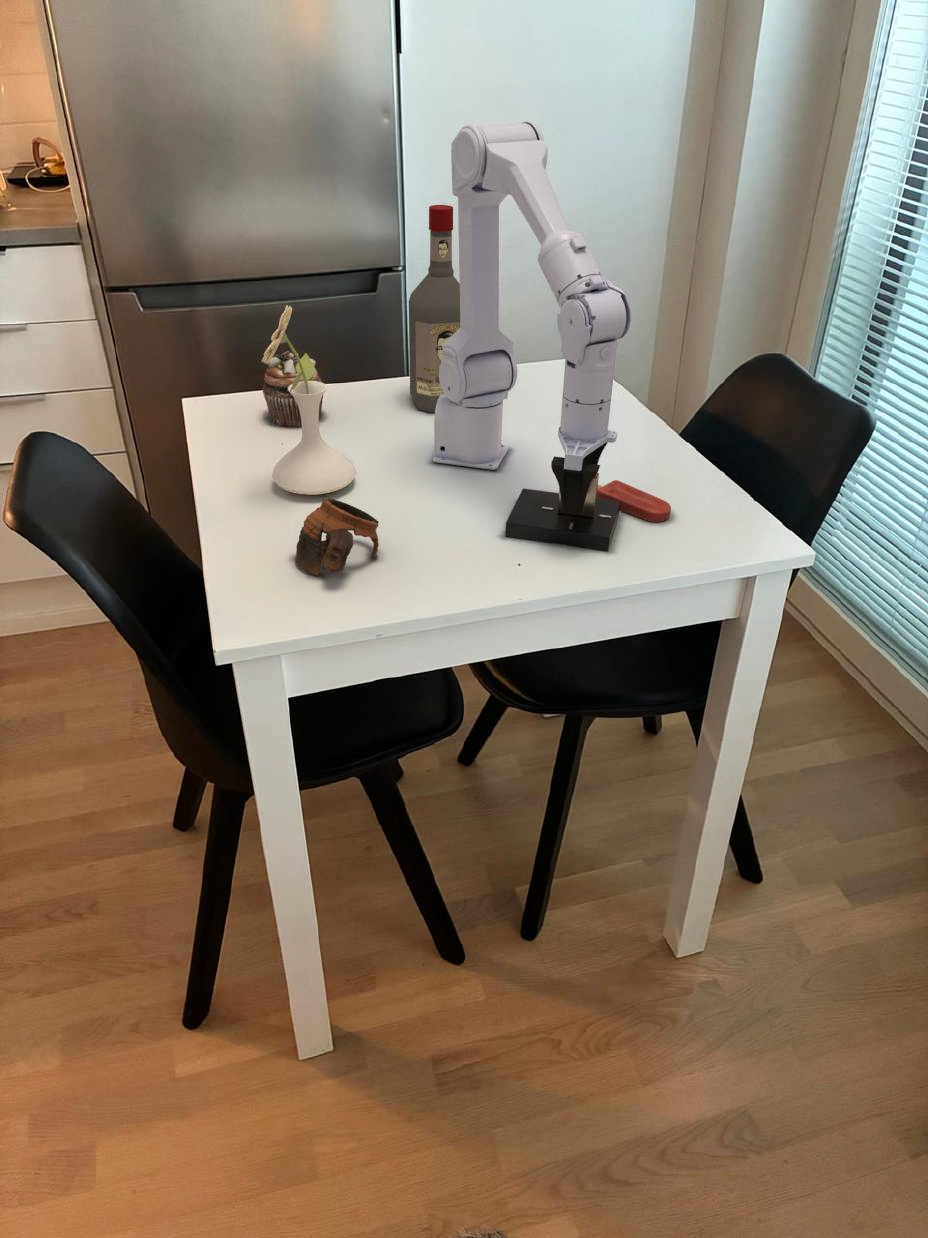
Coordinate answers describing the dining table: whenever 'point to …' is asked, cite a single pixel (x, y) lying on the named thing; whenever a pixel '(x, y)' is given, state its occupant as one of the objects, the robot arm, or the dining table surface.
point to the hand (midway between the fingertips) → (577, 499)
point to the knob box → (561, 521)
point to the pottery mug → (333, 536)
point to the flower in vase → (308, 433)
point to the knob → (589, 502)
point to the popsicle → (635, 501)
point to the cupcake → (284, 389)
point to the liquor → (433, 312)
